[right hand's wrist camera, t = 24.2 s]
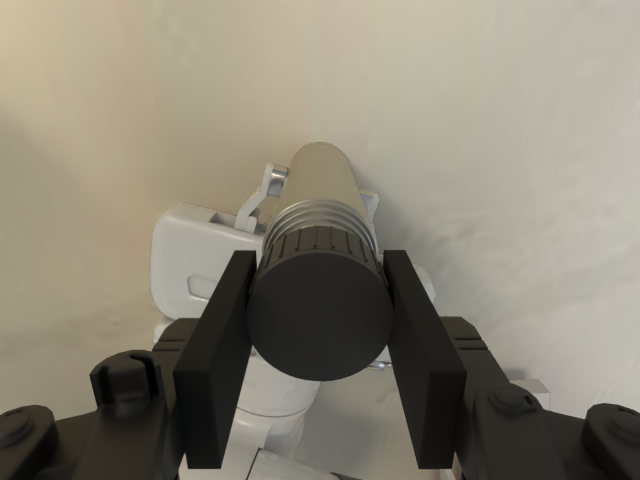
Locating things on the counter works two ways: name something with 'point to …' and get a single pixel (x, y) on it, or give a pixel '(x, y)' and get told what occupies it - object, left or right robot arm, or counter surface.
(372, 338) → the cap
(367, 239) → the bottle
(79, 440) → the right robot arm
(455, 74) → the counter surface
